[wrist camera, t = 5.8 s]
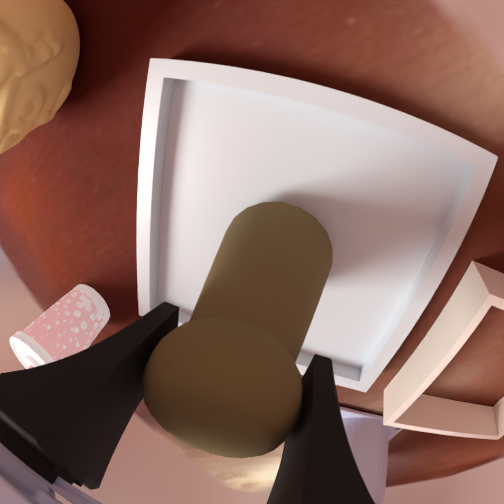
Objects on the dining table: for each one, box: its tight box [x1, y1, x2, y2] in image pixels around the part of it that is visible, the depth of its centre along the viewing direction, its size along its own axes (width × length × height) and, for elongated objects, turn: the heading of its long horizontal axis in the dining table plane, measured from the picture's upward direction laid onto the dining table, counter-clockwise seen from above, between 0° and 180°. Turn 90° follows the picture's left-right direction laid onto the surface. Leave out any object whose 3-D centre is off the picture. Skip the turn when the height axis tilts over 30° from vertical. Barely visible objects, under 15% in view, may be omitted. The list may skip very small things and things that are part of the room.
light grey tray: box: [137, 58, 498, 392], centre depth 18 cm, size 18×18×2 cm
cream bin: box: [383, 260, 504, 440], centre depth 18 cm, size 13×13×4 cm
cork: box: [142, 202, 333, 458], centre depth 13 cm, size 6×6×11 cm
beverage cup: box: [10, 284, 110, 369], centre depth 22 cm, size 6×6×14 cm
